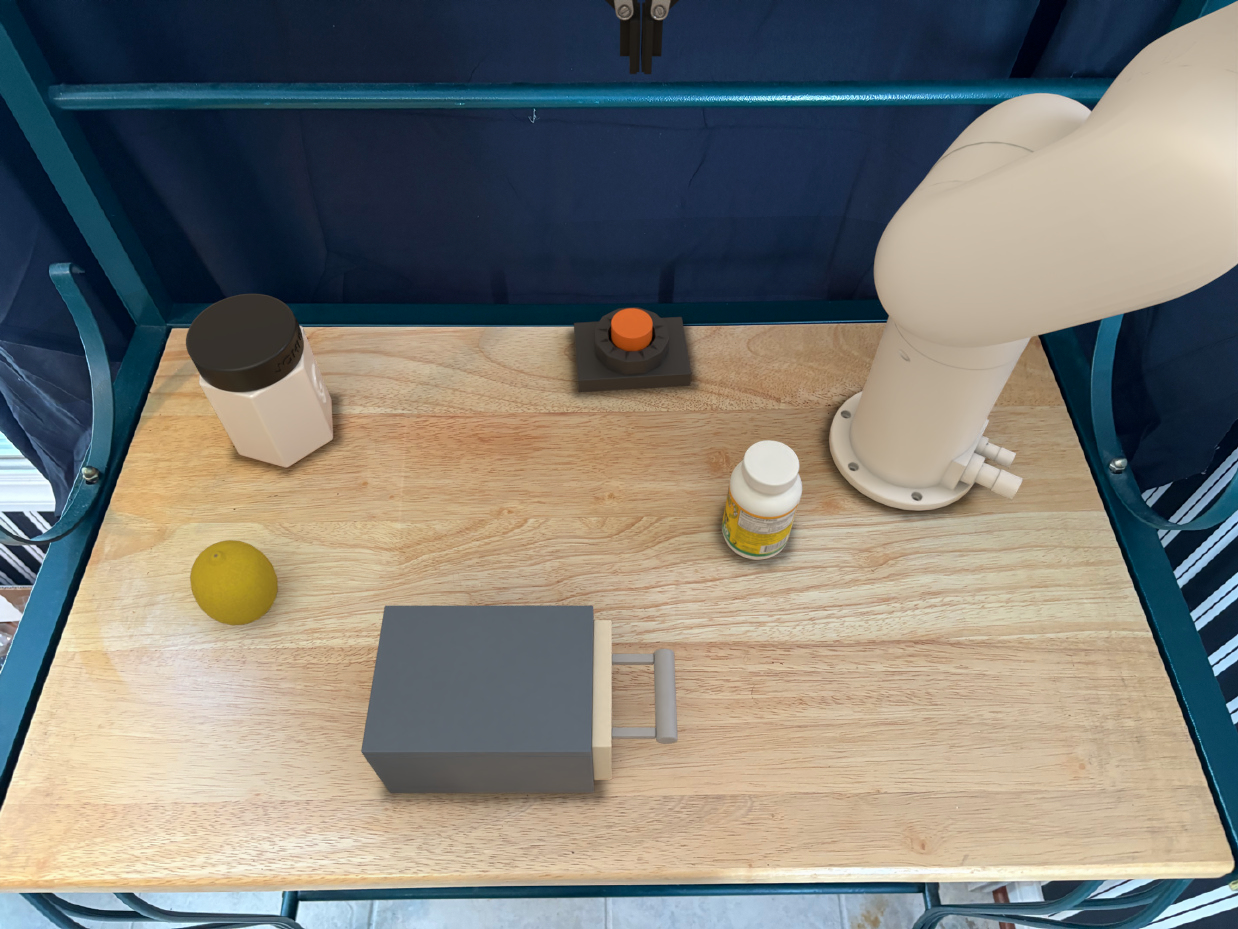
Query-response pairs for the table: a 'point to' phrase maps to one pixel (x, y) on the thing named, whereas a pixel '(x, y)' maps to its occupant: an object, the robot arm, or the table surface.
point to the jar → (261, 378)
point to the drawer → (602, 699)
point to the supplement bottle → (762, 500)
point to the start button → (631, 329)
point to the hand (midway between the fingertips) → (640, 63)
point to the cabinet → (482, 700)
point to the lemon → (233, 582)
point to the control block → (631, 357)
